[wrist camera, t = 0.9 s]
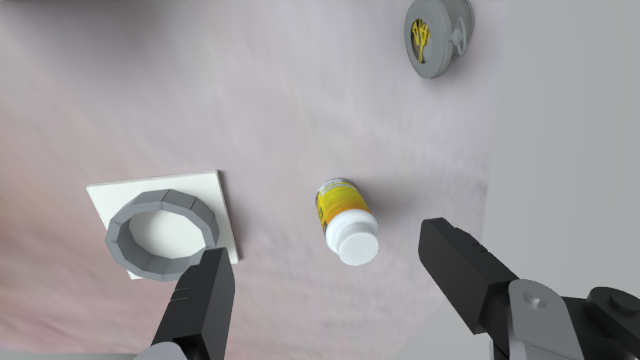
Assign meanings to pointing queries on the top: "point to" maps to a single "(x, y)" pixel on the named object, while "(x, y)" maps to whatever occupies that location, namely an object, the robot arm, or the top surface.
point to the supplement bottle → (347, 222)
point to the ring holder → (164, 222)
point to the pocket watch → (437, 34)
